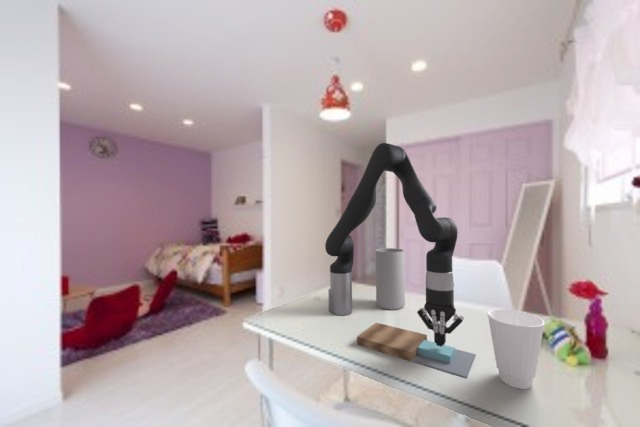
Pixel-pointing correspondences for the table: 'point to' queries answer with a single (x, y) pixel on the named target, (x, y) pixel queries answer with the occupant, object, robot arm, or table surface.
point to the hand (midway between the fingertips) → (440, 345)
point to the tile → (436, 351)
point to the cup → (516, 345)
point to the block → (392, 340)
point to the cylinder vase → (390, 278)
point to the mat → (457, 366)
